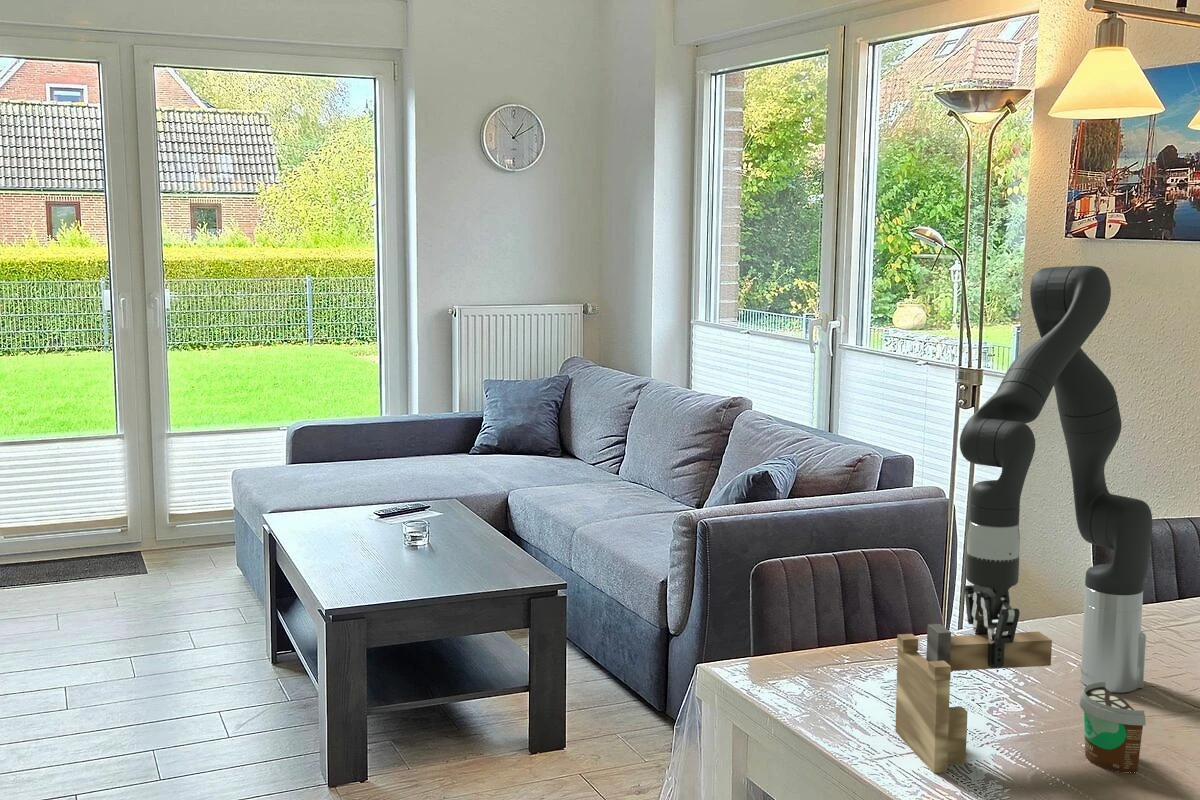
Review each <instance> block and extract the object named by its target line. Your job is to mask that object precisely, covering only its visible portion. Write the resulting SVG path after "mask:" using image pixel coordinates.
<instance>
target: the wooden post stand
mask: <svg viewBox="0 0 1200 800" xmlns="http://www.w3.org/2000/svg"><path fill="white" fill-rule="evenodd" d="M896 636H897V641H896V642H897V643H896V647H897V654H896V655H897V657H896V658H897V659H896V660H897V661H896V692H895V693H896V697H895V733H896V734H897V735H898V736H899V737H900V738H901V739H902V740H903V742H905V743H906V745H907V746H908V747H909V748H910V749H911V750H912V751H913V752H914V754H916V756H918V758H919V759H920V760H921V761H922V763H924V764H925V765H926V766H927V768H929V769H930V771H931V772H932V773H933V774H942V773H948V765H956V764H966V763H967V740H968V738H967V735H968V734H967V733H968V711H967V710H966V709H965V708H964V707H963V706H950V697H951V696H950V694H951V693H950V692H951V676H952V675H951V673H952V671H951V666H950V665H949V664H947V663H946V662H945V661H929V662H928V661H927V660H926V658H925V657H924V656H922V655H921V654H920V653H919V652H918V651H919V638H918V637H917V636H916V635H914V634H913V633H902V634H901V633H900V634H899V633H898V634H897V635H896Z"/></svg>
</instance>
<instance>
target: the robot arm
mask: <svg viewBox="0 0 1200 800" xmlns="http://www.w3.org/2000/svg"><path fill="white" fill-rule="evenodd" d="M1111 288H1112V287H1111V282H1110V279H1109V277H1108V275H1107V272H1106V271H1105V270H1104V269H1103V268H1101V267H1099V266H1094V265H1071V266H1069V265H1068V266H1067V265H1066V266H1052V267H1051V266H1050V267H1043V268H1041V269H1039V270H1037V271H1036V272H1035V273H1034V274H1033V277H1032V279H1031V283H1030V289H1029V290H1030V292H1029V295H1030V297H1029V298H1030V303H1031V304H1030V305H1031V309H1032V313H1033V317H1034V320H1035V323H1036V328H1037V330H1038V332H1039V335H1040V338H1039V339H1038V340H1037V341H1035V342H1034V343H1033V344H1031V345H1030V346H1029V347H1027V348H1026V349H1024V350H1023V351H1022V352H1021V353H1020V354H1019V355H1018V356H1017V357H1016V358H1015V360H1013V362H1012V363H1011V364H1010V366H1009V367H1008V369H1007V371H1006V373H1005V374H1004V377H1003V379H1002V380H1001V382H1000V385H999V386H998V388H997V390H996V392H995V393H994V394H993V395H992V396H991V397H989V399H987V400H986V401H985V403H983V404H982V406H980V407H979V409H977V410H976V411H975V412H974V413H972V416H971V417H969V419H968V420H967V421H966V423H965V424H964V426H963V428H962V431H961V432H960V433H961V434H960V437H959V448H960V453H961V455H962V457H963V458H964V459H965V460H966V461H967V462H969V463H972V464H974V465H979V466H981V465H982V466H985V467H992V468H993V467H994V468H1001V473H1000V476H999V477H998V479H994V480H993V479H992V480H981V481H978V482H976V483H975V484H973V486H972V487H971V490H970V502H969V503H970V506H969V523H968V524H969V525H968V530H967V534H966V535H967V537H966V562H965V563H966V565H965V566H966V567H965V578H966V580H967V582H969V583H971V584H968V585H967V584H966V585H964V589H963V590H964V597H965V598H964V599H965V607H966V616H967V623H968V625H971V626H972V631H973V632H974V635H983V634H988V638H989V647H988V665H989V666H990V667H991V668H999V669H1001V668H1000V667H1003V665H1004V645H1005V643H1013V640H1014V636H1015V633H1017V632H1016V631H1017V628H1018V627H1017V626H1018V623H1019V618H1020V616H1021V615H1020V609H1019V608H1012V607H1011V605H1010V603H1011V599H1010V594H1009V593H1010V592H1009V590H1010V589H1011V588H1012V587H1014V586H1017V584H1018V583H1019V574H1020V573H1019V571H1020V554H1021V553H1020V551H1021V550H1020V548H1021V547H1020V546H1021V534H1020V510H1021V509H1020V508H1021V507H1020V506H1021V505H1020V504H1021V496H1022V492H1023V489H1024V485H1025V481H1026V477H1027V475H1028V471H1029V470H1030V466H1031V463H1032V461H1033V458H1034V455H1035V451H1036V438H1035V434H1034V432H1033V430H1032V429H1031V427H1030V426H1029V425H1028V424H1029V423H1031V422H1035V420H1036V419H1037V418H1039V416H1040V414H1041V412H1042V410H1043V408H1044V406H1045V405H1046V402H1047V400H1048V398H1049V396H1050V394H1051V392H1052V390H1053V389H1054V392H1055V398H1056V405H1057V410H1058V414H1059V420H1060V423H1061V428H1062V432H1063V436H1064V440H1065V444H1066V449H1067V454H1068V455H1067V456H1068V461H1069V467H1070V472H1071V473H1070V474H1071V479H1072V488H1073V489H1072V491H1073V499H1074V501H1073V502H1074V508H1075V509H1074V511H1075V519H1076V524H1077V528H1078V531H1079V534H1080V536H1081V538H1083V540H1085V542H1087V543H1089V544H1091V545H1094V546H1098V547H1102V548H1107V549H1110V550H1113V555H1112V556H1113V557H1112V561H1111V563H1103V564H1102V563H1101V564H1097V565H1093V566H1091V567H1088V569H1087V570H1086V572H1085V577H1084V579H1085V581H1084V600H1083V601H1084V602H1083V617H1082V618H1083V620H1082V621H1083V623H1082V640H1081V642H1082V643H1081V660H1080V661H1081V664H1080V665H1081V666H1080V681H1081V683H1083V684H1084V685H1085V686H1087V685H1089V684H1091V683H1095V682H1103V681H1105V682H1106V689H1107V690H1109V691H1110V692H1111V693H1119V694H1120V693H1129V692H1133V691H1136V690H1137V689H1141V688H1142V689H1143V688H1144V680H1145V679H1144V678H1145V661H1146V644H1147V636H1146V634H1145V633H1144V632H1143V631H1142V621H1143V620H1142V618H1143V598H1144V596H1143V595H1144V584H1145V580H1146V577H1147V573H1148V571H1149V563H1150V553H1151V543H1152V536H1153V535H1152V534H1153V515H1152V513H1153V512H1152V510H1151V508H1150V506H1149V504H1147V502H1145V500H1141V499H1138V498H1134V497H1130V496H1129V497H1128V496H1123V495H1117V494H1114V493H1113V494H1112V493H1110V491H1109V489H1108V486H1107V481H1106V475H1105V468H1106V463H1107V461H1108V459H1109V458H1110V455H1111V454H1112V452H1113V449H1114V448H1115V447H1116V444H1117V442H1118V440H1119V438H1120V435H1121V431H1122V427H1123V426H1122V416H1121V413H1120V412H1121V411H1120V407H1119V401H1118V396H1117V393H1116V390H1115V387H1114V386H1113V384H1112V382H1111V381H1110V379H1109V378H1108V377H1107V376H1106V374H1105V373H1104V372H1103V371H1102V370H1101V368H1099V367H1098V366H1097V364H1095V362H1094V361H1093V360H1092V359H1091V358H1090V357H1089V356H1088V355H1087V353H1086V352H1085V351H1084V350H1083V349H1082V346H1083V345H1084V343H1085V342H1086V341H1087V340H1088V338H1089V337H1090V336H1091V334H1092V333H1093V331H1095V329H1096V327H1098V326H1099V324H1100V323H1101V321H1102V319H1103V318H1104V316H1105V315H1106V312H1107V310H1108V309H1109V308H1108V307H1109V305H1110V301H1111V297H1112V295H1111V294H1112V289H1111ZM993 621H994V622H993ZM1007 633H1008V634H1007Z"/></svg>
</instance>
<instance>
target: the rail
mask: <svg viewBox="0 0 1200 800" xmlns="http://www.w3.org/2000/svg"><path fill="white" fill-rule="evenodd" d="M926 633H927V635H926V658H925V659H926V660H927V661H928V662H929V661H945V662H946V663H947V664H949V665H950V666H951V672H959V671H962V672H963V671H975V670H976V671H979V670H980V671H981V670H992V669H993V670H996V669H999V670H1000V669H1013V668H1014V669H1015V668H1032V667H1033V668H1034V667H1049V666H1050V667H1051V666H1052V651H1053V648H1052V647H1053V645H1052V643H1053V640H1052V639H1051V638H1049V637H1048V636H1046V635H1045V634H1044V633H1042V632H1040V631H1025V632H1024V631H1023V632H1015V636H1014V640H1013V643H1005V645H1004V665H1003V667H1000V668H991V667H990V666H989V665H988V647H989V638H988V634H983V635H975V634H966V635H952V632H951V631H950V630H949V629H947V628H946V627H945V626H943V625H942V624H941V623H934V624H933V623H930V624H927V631H926ZM1007 634H1008V632H1007Z"/></svg>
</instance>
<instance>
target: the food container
mask: <svg viewBox="0 0 1200 800" xmlns="http://www.w3.org/2000/svg"><path fill="white" fill-rule="evenodd" d="M1078 704H1079V705H1078V706H1080V708H1081V709H1082V710H1083V721H1084V722H1083V725H1084V726H1083V727H1084V728H1083V731H1084V756H1085V758H1086V760H1087V759H1088V762H1089V761H1090V763H1091V764H1092V765H1094V766H1096V767H1098V766H1099V768H1100V767H1101V769H1103V768H1104V770H1106V769H1108V770H1107V771H1110V770H1113V771H1112V772H1114V771H1119V772H1118V773H1120V772H1129V773H1128V774H1137V773H1138V770H1139V761H1140V753H1141V746H1142V737H1143V728H1144V726H1146V714H1145V710H1144V709H1138V710H1137V709H1134V708H1133V707H1132V706H1131V705H1130V704H1129V703H1128V702H1127V700H1125V699H1124V698H1122V697H1121V696H1119V695H1116V693H1115V694H1114V692H1110V691H1109V690H1107V689H1106V682H1105V681H1103V682H1095V683H1091V684H1089V685H1085V686H1084V688H1083V690H1082V692H1081V695H1080V698H1079V701H1078ZM1130 772H1131V773H1130ZM1134 772H1135V773H1134ZM1136 772H1137V773H1136Z"/></svg>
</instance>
